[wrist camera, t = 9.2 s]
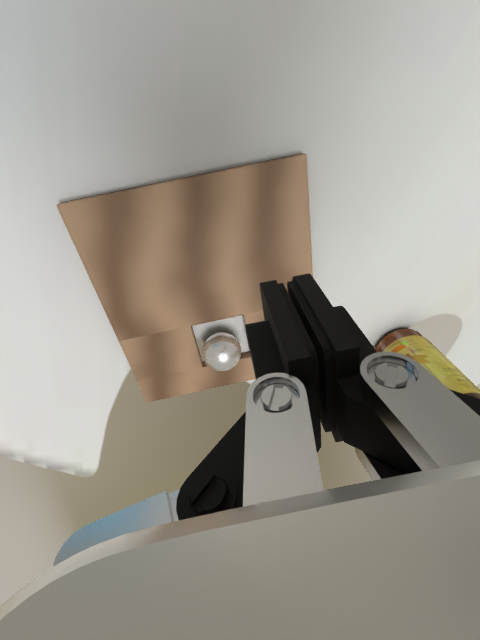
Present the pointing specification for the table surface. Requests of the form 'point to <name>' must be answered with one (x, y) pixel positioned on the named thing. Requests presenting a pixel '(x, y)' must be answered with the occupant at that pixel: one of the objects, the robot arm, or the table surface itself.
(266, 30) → the table surface
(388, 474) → the robot arm
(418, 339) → the sauce bottle
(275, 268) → the walnut board
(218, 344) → the steel ball
